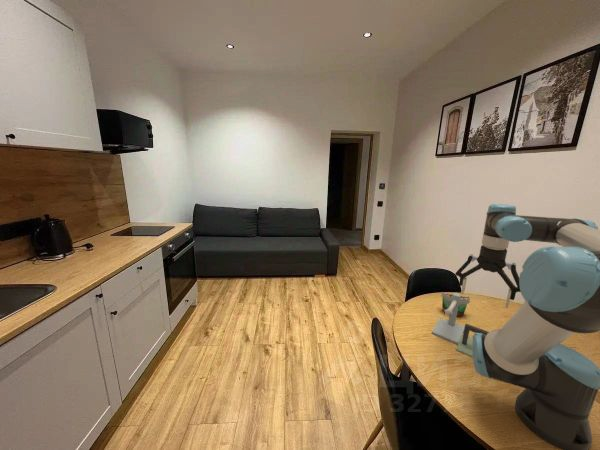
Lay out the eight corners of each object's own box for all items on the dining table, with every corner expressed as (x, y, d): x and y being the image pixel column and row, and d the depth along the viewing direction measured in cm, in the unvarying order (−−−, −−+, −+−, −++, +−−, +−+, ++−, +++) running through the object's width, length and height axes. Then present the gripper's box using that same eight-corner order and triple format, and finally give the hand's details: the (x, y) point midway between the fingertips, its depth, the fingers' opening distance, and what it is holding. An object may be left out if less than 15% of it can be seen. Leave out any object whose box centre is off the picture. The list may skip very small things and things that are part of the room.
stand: (457, 345, 98) (463, 311, 95) (430, 334, 105) (435, 301, 101) (464, 328, 109) (470, 297, 105) (440, 319, 115) (445, 289, 112)
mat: (486, 363, 89) (487, 362, 89) (455, 350, 96) (455, 348, 96) (490, 346, 98) (491, 345, 98) (462, 335, 104) (462, 334, 104)
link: (485, 353, 94) (489, 334, 92) (461, 343, 99) (465, 325, 97) (486, 351, 95) (490, 332, 93) (462, 341, 100) (465, 323, 98)
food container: (441, 316, 118) (444, 297, 116) (438, 309, 124) (441, 291, 121) (470, 321, 114) (474, 302, 112) (466, 313, 120) (469, 295, 118)
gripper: (542, 252, 81) (528, 308, 86) (456, 237, 98) (448, 285, 103) (542, 258, 76) (527, 317, 81) (452, 241, 92) (444, 291, 97)
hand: (483, 299), depth 92 cm, fingers open, 13 cm apart
